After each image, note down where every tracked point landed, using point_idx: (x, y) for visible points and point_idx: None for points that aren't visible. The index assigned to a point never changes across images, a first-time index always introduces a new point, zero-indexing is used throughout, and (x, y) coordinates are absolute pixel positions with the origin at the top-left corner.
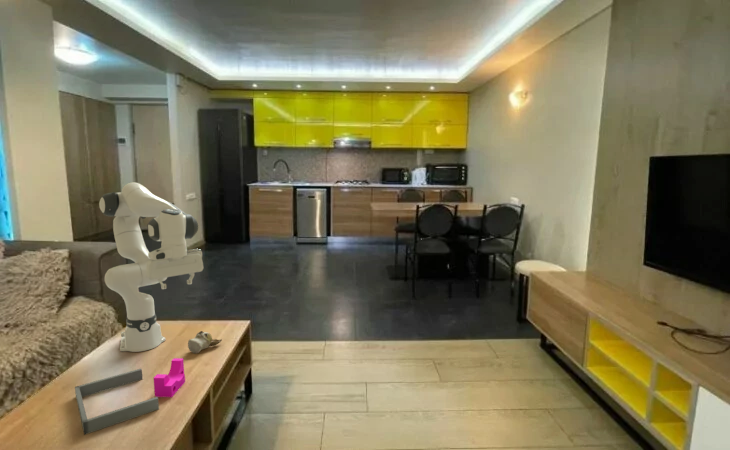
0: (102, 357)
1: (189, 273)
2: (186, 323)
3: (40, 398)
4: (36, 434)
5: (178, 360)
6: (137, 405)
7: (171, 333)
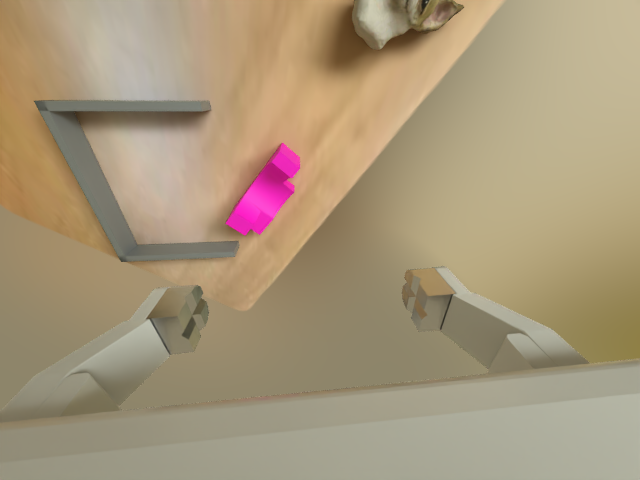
0: None
1: (516, 370)
2: None
3: None
4: (45, 209)
5: (287, 172)
6: (202, 257)
7: None
